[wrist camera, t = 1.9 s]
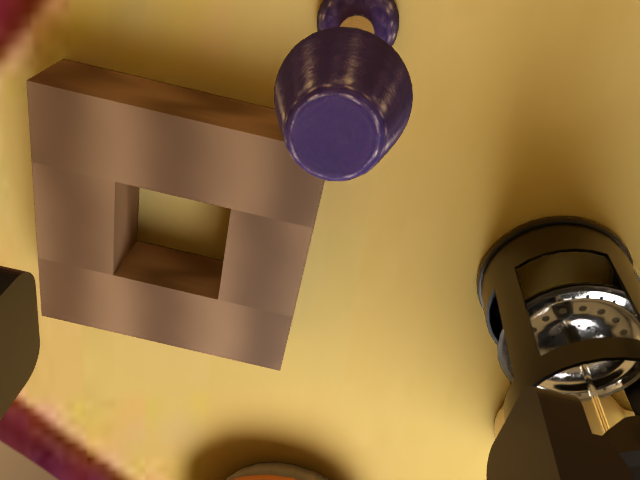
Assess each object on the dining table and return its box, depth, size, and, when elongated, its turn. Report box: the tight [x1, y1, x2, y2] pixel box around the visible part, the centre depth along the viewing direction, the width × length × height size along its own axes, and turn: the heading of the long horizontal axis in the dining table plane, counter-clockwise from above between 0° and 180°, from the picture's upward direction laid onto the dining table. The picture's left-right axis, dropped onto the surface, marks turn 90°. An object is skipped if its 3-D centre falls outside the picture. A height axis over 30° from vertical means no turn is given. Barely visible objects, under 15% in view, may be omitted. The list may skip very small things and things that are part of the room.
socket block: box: [27, 59, 325, 371], centre depth 37 cm, size 16×16×4 cm
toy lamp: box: [274, 0, 413, 181], centre depth 24 cm, size 5×5×17 cm
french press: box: [477, 216, 640, 480], centre depth 29 cm, size 12×9×23 cm
